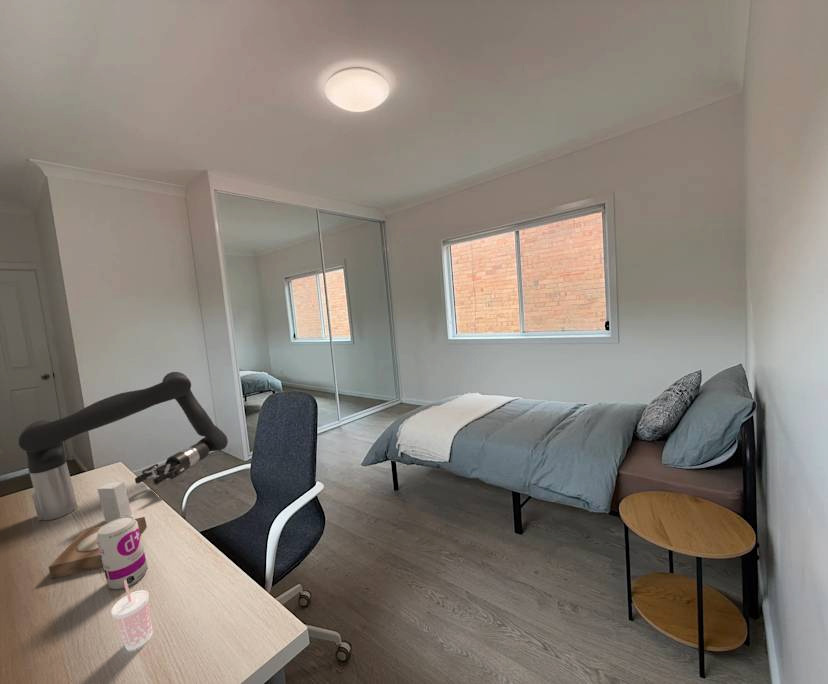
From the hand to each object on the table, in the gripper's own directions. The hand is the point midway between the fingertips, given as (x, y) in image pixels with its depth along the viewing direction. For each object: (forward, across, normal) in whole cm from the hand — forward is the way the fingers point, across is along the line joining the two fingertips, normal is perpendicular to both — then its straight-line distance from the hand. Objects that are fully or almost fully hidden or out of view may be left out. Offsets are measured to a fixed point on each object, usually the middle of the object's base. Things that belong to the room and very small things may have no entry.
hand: (145, 481), depth 133 cm
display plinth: (+24, +12, +7) cm, 28 cm away
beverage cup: (+45, +52, +7) cm, 70 cm away
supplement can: (+32, +32, +7) cm, 45 cm away
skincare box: (+11, 0, +7) cm, 13 cm away
